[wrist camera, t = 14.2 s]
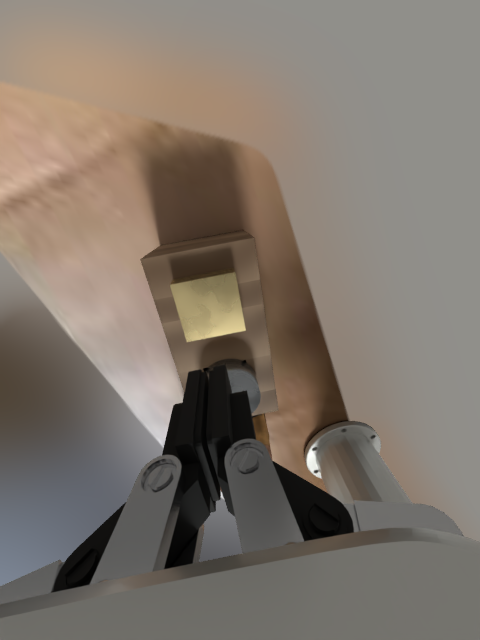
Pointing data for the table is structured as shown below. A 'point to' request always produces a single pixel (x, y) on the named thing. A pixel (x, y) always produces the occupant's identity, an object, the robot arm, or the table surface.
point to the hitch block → (243, 258)
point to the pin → (241, 379)
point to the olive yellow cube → (208, 304)
